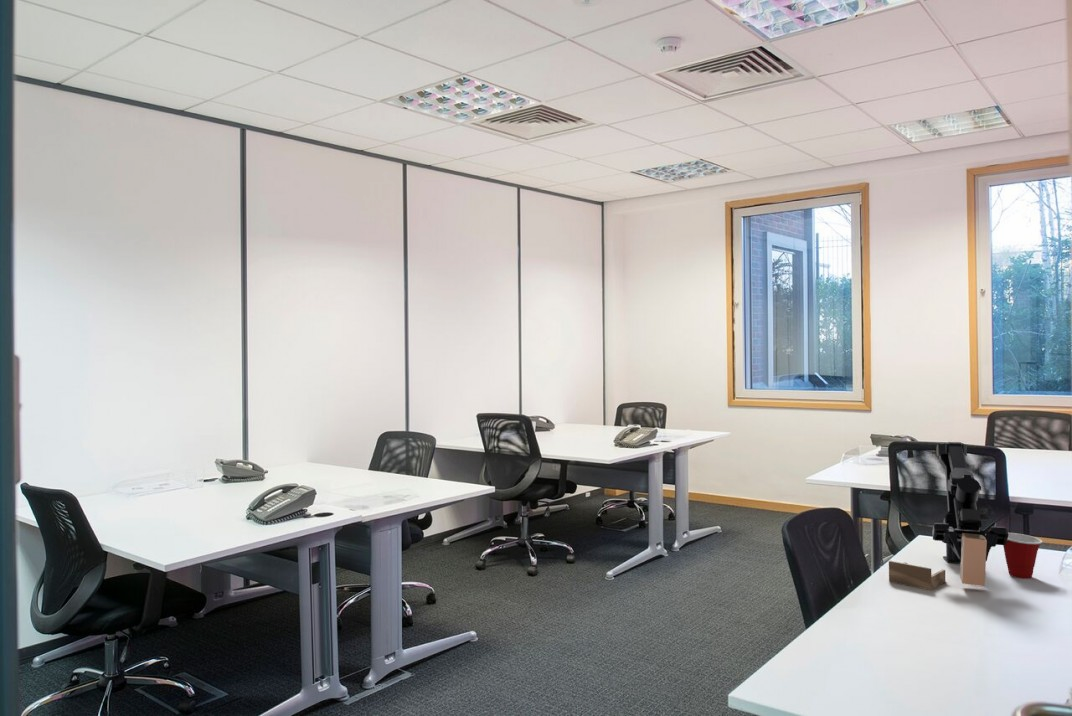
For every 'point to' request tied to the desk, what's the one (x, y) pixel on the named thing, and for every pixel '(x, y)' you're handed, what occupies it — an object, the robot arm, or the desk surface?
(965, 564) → the tall peach pillar
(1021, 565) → the plastic cup
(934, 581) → the brown l-shaped block
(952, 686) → the desk surface
